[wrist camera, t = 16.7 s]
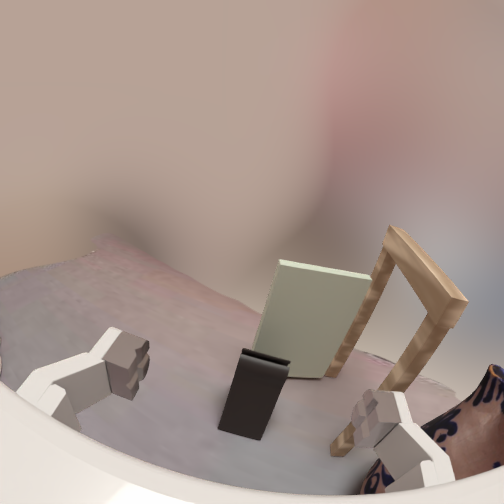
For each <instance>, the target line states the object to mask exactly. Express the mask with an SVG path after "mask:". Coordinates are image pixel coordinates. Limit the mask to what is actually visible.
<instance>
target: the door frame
mask: <svg viewBox="0 0 504 504" xmlns="http://www.w3.org/2000/svg"><path fill="white" fill-rule="evenodd" d="M382 244H383V248H382V251H381V253H380V256H379V258H378V261H377V263H376V265H375V267H374V270H373V272H372V274H371V277H370V278H371V279H372V282H371V285H370V287H369V289H368V291H367V293H366V296H365V298H364V300H363V302H362V304H361V306H360V308H359V310H358V312H357V314H356V316H355V318H354V320H353V322H352V324H351V326H350V328H349V330H348V332H347V334H346V336H345V338H344V340H343V342H342V344H341V345H340V347H339V349H338V351H337V353H336V355H335V356H334V358H333V360H332V362H331V364H330V365H329V367H328V369H327V371H326V372H325V376H328V377H334V378H336V377H337V375H338V373H339V372H340V370H341V368H342V367H343V365H344V363H345V362H346V360H347V358H348V357H349V355H350V353H351V351H352V350H353V348H354V346H355V344H356V343H357V341H358V339H359V337H360V335H361V334H362V331H363V330H364V328H365V326H366V324H367V322H368V320H369V319H370V317H371V314H372V313H373V311H374V309H375V307H376V305H377V303H378V301H379V298H380V296H381V295H382V292H383V290H384V288H385V286H386V284H387V282H388V280H389V278H390V275H391V273H392V271H393V269H394V266H395V264H397V266H398V267H399V269H400V270H401V271H402V273H403V274H404V276H405V277H406V279H407V280H408V282H409V283H410V285H411V286H412V288H413V290H414V291H415V293H416V294H417V296H418V297H419V299H420V300H421V302H422V304H423V305H424V307H425V308H426V310H427V312H428V313H427V315H426V317H425V319H424V320H423V322H422V324H421V326H420V327H419V329H418V331H417V332H416V334H415V335H414V337H413V339H412V340H411V342H410V343H409V345H408V347H407V348H406V350H405V351H404V353H403V354H402V356H401V357H400V359H399V360H398V362H397V363H396V365H395V366H394V367H393V369H392V370H391V372H390V373H389V374H388V376H387V377H386V379H385V380H384V381H383V383H382V384H381V385H380V387H379V388H378V389H377V390H383V391H397V392H402V393H404V392H405V391H406V389H407V388H408V387H409V386H410V384H411V383H412V382H413V381H414V379H415V378H416V377H417V375H418V374H419V373H420V371H421V370H422V368H423V367H424V366H425V365H426V363H427V362H428V360H429V359H430V358H431V356H432V355H433V353H434V352H435V350H436V349H437V347H438V346H439V344H440V343H441V341H442V340H443V338H444V337H445V335H446V334H447V332H448V330H449V329H450V328H454V326H455V325H456V323H457V321H458V320H459V318H460V316H461V315H462V313H463V311H464V310H465V308H466V306H467V304H468V302H469V301H468V300H467V299H466V298H465V297H464V295H463V294H462V293H461V292H460V291H459V289H458V288H457V287H456V286H455V285H454V283H453V282H452V281H451V280H450V279H449V278H448V277H447V275H446V274H445V273H444V272H443V271H442V270H441V269H440V268H439V266H438V265H437V264H436V263H435V262H434V261H433V260H432V259H431V258H430V257H429V255H428V254H427V253H426V252H425V251H424V250H423V249H422V248H421V247H420V246H419V245H418V244H417V243H416V242H415V241H414V240H413V239H412V238H411V237H410V236H409V235H408V234H407V233H406V232H405V231H404V230H403V229H400V228H397V227H394V226H391V225H389V227H388V230H387V233H386V235H385V238H384V240H383V243H382ZM355 430H356V428H355V427H354V426H353V425H352V421H351V423H350V424H349V425H348V426H347V427H346V428H345V429H344V431H343V432H342V433H341V434H340V435H339V436H338V437H337V438H336V439H335V440H334V442H333V443H332V444H331V445H330V447H331V456H342V457H344V456H345V455H346V454H347V453H348V452H349V451H350V450H351V449H352V448H353V447H354V446H355V444H354V436H353V433H354V432H355Z"/></svg>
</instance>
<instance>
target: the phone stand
mask: <svg viewBox="0 0 504 504" xmlns="http://www.w3.org/2000/svg"><path fill="white" fill-rule="evenodd" d="M290 363H291V361H289V360H285V359H282V358H278V357H274V356H270V355H267V354H263V353H260V352H256V351H253V350H249V349H246V348H243V349H242V353H241V355H240V358H239V362H238V365H237V368H236V372H235V375H234V378H233V382H232V385H231V388H230V391H229V394H228V398H227V401H226V404H225V407H224V410H223V414H222V417H221V420H220V423H219V426H218V429H221V430H224V431H228V432H231V433H235V434H238V435H242V436H246V437H250V438H253V439H258V440H261V438H262V435H263V433H264V431H265V428H266V426H267V424H268V421H269V419H270V416H271V414H272V412H273V409H274V407H275V404H276V402H277V399H278V397H279V394H280V392H281V389H282V387H283V385H284V383H285V381H286V379H287V376H288V373H289V370H290V367H287V366H288V364H290Z"/></svg>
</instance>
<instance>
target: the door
mask: <svg viewBox="0 0 504 504" xmlns="http://www.w3.org/2000/svg"><path fill="white" fill-rule="evenodd" d="M371 282H372V279H371V278H370V276H369V275H365V274H360V273H354V272H348V271H343V270H336V269H331V268H325V267H320V266H314V265H309V264H303V263H297V262H292V261H286V260H280V259H279V261H278V264H277V268H276V271H275V275H274V278H273V281H272V285H271V288H270V291H269V294H268V298H267V301H266V304H265V307H264V311H263V314H262V317H261V320H260V324H259V327H258V330H257V333H256V336H255V339H254V343H253V346H252V349H251V350H253V351H256V352H260V353H263V354H267V355H270V356H274V357H278V358H282V359H285V360H289V361H291V363H290V364H288V366H287V367H290V370H289V373H288V376H287V377H305V378H322V377H323V376H324V374H325V372H326V371H327V369H328V367H329V365H330V364H331V362H332V360H333V358H334V356H335V355H336V353H337V351H338V349H339V347H340V345H341V344H342V342H343V340H344V338H345V336H346V334H347V332H348V330H349V328H350V326H351V324H352V322H353V320H354V318H355V316H356V314H357V312H358V310H359V308H360V306H361V304H362V302H363V300H364V298H365V296H366V293H367V291H368V289H369V287H370V285H371Z"/></svg>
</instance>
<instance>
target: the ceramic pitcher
mask: <svg viewBox="0 0 504 504" xmlns="http://www.w3.org/2000/svg"><path fill="white" fill-rule="evenodd" d="M420 428H421V429H422V430H423V431H424V432H425V433H426V434H427V435H428V436H429V437H430V438H431V439H432V440H433V441H434V442H435V443H436V444H437V445H438V446H439V447H440V448H441V449H442V450H443V451H444V452H445V453H446V454H447V455H448V456H449V458H450V462H451V465H452V469H453V473H454V476H455V480H460V479H463V478H467V477H470V476H474V475H477V474H480V473H483V472H486V471H489V470H492V469H495V468H498V467H500V466H503V465H504V369H503V368H501V367H500V366H498V365H494V364H491V365H489V367H488V369H487V372H486V374H485V376H484V378H483V379H482V381H481V382H480V384H479V386H478V387H477V389H476V390H475V391H474V392H473V393H472V394H471V395H470V396H469V397H467V398H466V399H465V400H464V401H462V402H461V403H460V404H458V405H457V406H455V407H453V408H452V409H450V410H448V411H447V412H446V413H444V414H442V415H440V416H438V417H437V418H435V419H433V420H431V421H430V422H428V423H426V424H425V425H423V426H421V427H420ZM394 481H395V480H394V478H393V477H392V476H391V474H390V473H389V471H388V470H387V468H386V467H385V465H384V464H383V462H382V461H381V460H380V458H379V459H378V460H377V461H376V462H375V463H374V465H373V466H372V467H371V469H370V470H369V472H368V474H367V476H366V478H365V480H364V482H363V485H362V488H361V492H360V495H366V494H379V493H385V488H386V487H387V486H389V485H390V484H392V483H393V482H394Z"/></svg>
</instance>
